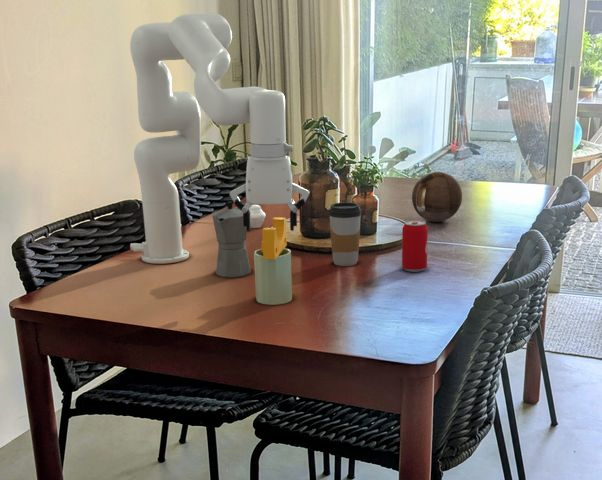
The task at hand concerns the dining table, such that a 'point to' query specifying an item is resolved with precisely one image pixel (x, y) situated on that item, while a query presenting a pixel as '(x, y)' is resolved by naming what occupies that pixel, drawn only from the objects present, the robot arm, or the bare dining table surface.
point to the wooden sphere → (437, 196)
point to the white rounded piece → (256, 216)
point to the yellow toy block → (274, 238)
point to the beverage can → (414, 245)
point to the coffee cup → (345, 232)
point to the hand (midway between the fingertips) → (270, 229)
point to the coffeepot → (231, 242)
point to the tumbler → (273, 278)
